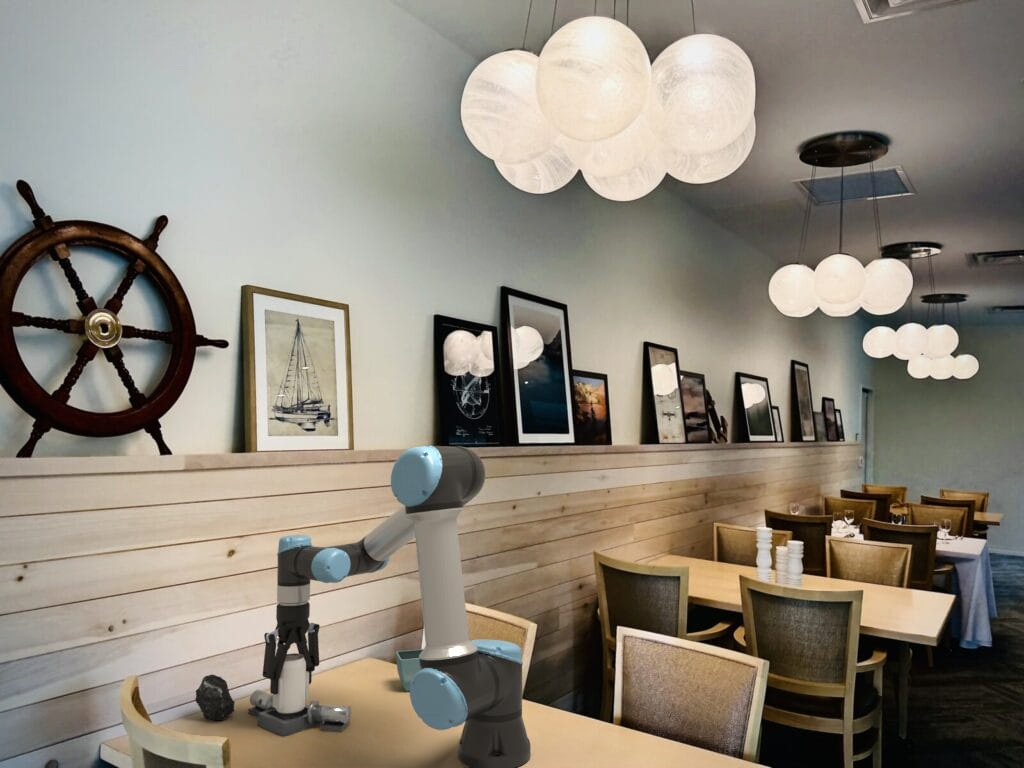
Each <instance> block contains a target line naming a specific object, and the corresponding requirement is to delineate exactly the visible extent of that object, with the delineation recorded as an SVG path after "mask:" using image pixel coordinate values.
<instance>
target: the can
mask: <svg viewBox="0 0 1024 768" xmlns="http://www.w3.org/2000/svg"><path fill="white" fill-rule="evenodd" d="M280 678H281V679H283V696H282V709H277V708H276V710H277V711H278V713H281V714H293V713H298V712H300V711H302V710H303V709H304V707H305V704H306V701H305V685H306V661H305V659H304V655H303V654H299V652H298V653H295V652H294V653H293V652H292V653H287V655H286V658H285V662H284V665H283V669H282V672H281V675H280Z"/></svg>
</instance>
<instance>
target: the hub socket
mask: <svg viewBox="0 0 1024 768" xmlns="http://www.w3.org/2000/svg"><path fill="white" fill-rule="evenodd" d="M308 707H309V705H308V704H306V703H305V707H304V709H303V710H302V711H300V712H298V713H293V714H281V713H278V711H277V710H276V708H273V709H270V710H267V711H264V712H260V713H258V718H257V726H258V727H260V728H262V729H265V730H267V731H269V732H272V733H273V734H276V735H278V736H280V737H287V736H290V735H293V734H296V733H299V732H301V731H305V730H308V729H311V728H314V727H316V726H319V725H322V724H323V723H324V722H318V721H315V725H309V724H308V722H307V711H308Z"/></svg>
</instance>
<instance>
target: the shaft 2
mask: <svg viewBox="0 0 1024 768" xmlns="http://www.w3.org/2000/svg"><path fill="white" fill-rule="evenodd" d="M308 706H309V707H308V711H307V722H308V724H309V725H315V721H318V722H323V723H322V724H320V731H321V732H332V733H333V732H335V733H336V732H337V733H342V732H343V731H344V730H346V728H347V727H349V726H350V725H351V724H350V723H351V722H350V721H351V719H350V718H351V716H352V715H351V714H352V709H351V706H350V705H338V704H337V705H335V704H334V705H333V704H332V705H331V704H320V702H319V701H318V700H315V699H314V700H311V701H310V703H309V705H308Z"/></svg>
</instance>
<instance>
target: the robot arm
mask: <svg viewBox="0 0 1024 768" xmlns="http://www.w3.org/2000/svg"><path fill="white" fill-rule="evenodd" d="M485 482H486V469H485V465H484V463H483V460H482V458H481V457H480V456H479V455H478V454H477V453H476V452H475V451H473V450H472V449H470V448H467V447H465V446H460V445H455V446H448V445H447V446H443V445H442V446H441V445H423V446H416V447H411V448H409V449H406V450H405V451H403V452H402V453H401V454H399V456H398V459H397V460H396V461H395V463H394V464H393V467H392V469H391V473H390V488H391V491H392V495H393V497H395V498H396V500H397V502H398V503H400V504H401V505H402V506H400V507H399V508H398V509H397V510H396V511H394V512H393V513H392V514H391V515H390V516H388V517H387V518H386V519H385V520H383V522H381V523H380V524H379V525H378V526H376V527H375V528H374V529H373V530H371V531H370V532H369V533H368V534H367V535H365V536H364V537H363V538H362V539H360V540H359V541H357V542H353V543H352V542H351V543H345V544H339V545H330V546H313V544H312V538H311V536H309V535H306V534H291V535H284V536H282V537H281V538H279V541H278V546H277V547H278V548H277V554H276V556H277V575H276V576H277V577H276V579H277V580H276V581H277V586H276V602H277V605H276V611H275V612H276V614H275V615H276V627H275V628H274V630H273V631H270V632H265V633H264V635H263V637H264V641H265V648H264V657H263V668H262V677H263V678H266V679H268V680H270V688H269V689H270V690H269V691H270V694H271V695H273V707H274V708H277V709H282V696H283V679H281V678H280V675H281V672H282V669H283V665H284V662H285V658H286V655H287V654H288V651H289V650H290V649H291V646H292V645H293V644H296V648H297V651H298V654H303V655H304V659H305V661H306V685H305V702H307V701H309V697H310V696H309V695H310V692H309V691H310V685H311V684H312V680H313V678H312V676H313V675H312V673H313V672H314V671H315V670H316V667H318V666H320V652H319V649H320V648H319V631H320V624H319V623H316V622H315V623H314V622H310V621H309V619H310V613H311V612H310V610H311V605H310V603H309V601H310V600H311V581H316V582H321V583H324V584H330V583H332V584H336V583H340V582H342V581H343V580H344V579H345V578H349V577H353V576H357V575H363V574H364V575H365V574H372V573H373V574H374V573H375V572H377V571H381V570H383V569H384V568H386V566H388V562H389V561H390V557H392V556H393V555H394V554H395V553H396V552H398V551H399V550H401V549H402V548H403V547H404V546H405V545H407V544H408V543H410V542H411V541H413V540H414V539H415V545H416V556H417V567H418V576H419V577H418V579H419V587H420V596H421V597H420V598H421V609H422V620H423V621H422V622H423V630H424V641H425V647H424V648H422V649H423V651H422V652H421V653H420V655H419V662H420V671H418V672H417V673H416V674H415V675H414V677H413V680H412V681H411V684H410V691H409V698H410V699H409V700H410V702H411V705H412V709H413V710H414V712H415V713H416V715H417V717H418V718H419V719H421V720H422V722H423V724H425V725H426V726H427V727H429V728H431V729H434V730H438V731H445V730H449V729H452V728H455V727H459V726H461V725H463V729H462V732H461V734H460V735H461V736H460V738H459V742H458V744H457V750H458V751H457V757H458V760H459V761H460V762H461V763H462V764H463V765H465V766H467V767H470V768H517V767H520V766H522V765H524V764H525V763H527V762H528V761H529V760H530V759H531V756H532V754H531V753H532V752H531V749H532V748H531V742H530V738H529V737H528V734H527V730H526V726H525V723H524V719H523V665H524V663H523V659H522V658H523V656H522V655H523V654H522V649H521V647H520V645H518V644H517V643H514V642H511V641H507V640H500V639H498V640H497V639H483V638H481V639H473V640H470V638H469V636H470V635H469V628H468V618H467V608H466V599H465V588H464V579H463V571H462V569H463V568H462V561H461V559H462V558H461V550H460V541H459V529H458V523H457V518H458V516H459V514H460V513H461V512H462V511H463V510H464V506H465V505H467V504H468V503H469V502H471V501H472V500H473V499H474V498H475V497H476V496H477V495H479V493H480V492H481V490H482V489H483V487H484V484H485ZM306 633H307V634H306ZM306 635H307V636H306ZM277 637H278V638H277ZM277 641H278V642H277Z"/></svg>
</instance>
